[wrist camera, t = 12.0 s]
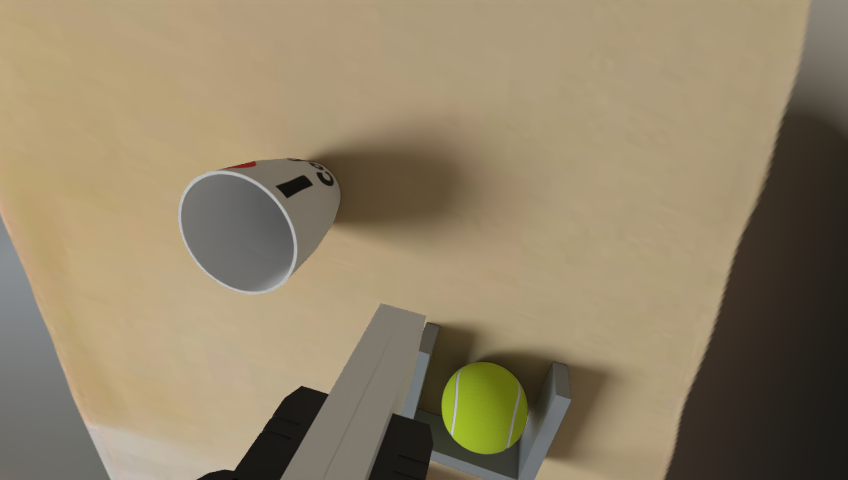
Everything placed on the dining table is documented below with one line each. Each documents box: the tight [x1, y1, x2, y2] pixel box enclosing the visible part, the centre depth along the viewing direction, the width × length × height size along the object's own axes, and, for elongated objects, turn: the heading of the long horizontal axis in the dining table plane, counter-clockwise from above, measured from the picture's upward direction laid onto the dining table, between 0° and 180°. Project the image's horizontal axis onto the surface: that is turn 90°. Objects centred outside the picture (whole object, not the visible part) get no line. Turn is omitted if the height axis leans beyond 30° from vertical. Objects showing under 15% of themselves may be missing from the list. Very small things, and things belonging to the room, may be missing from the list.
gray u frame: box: [400, 323, 572, 480], centre depth 30 cm, size 11×12×18 cm
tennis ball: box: [442, 362, 528, 454], centre depth 35 cm, size 7×7×7 cm
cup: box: [178, 158, 341, 294], centre depth 30 cm, size 8×8×10 cm
